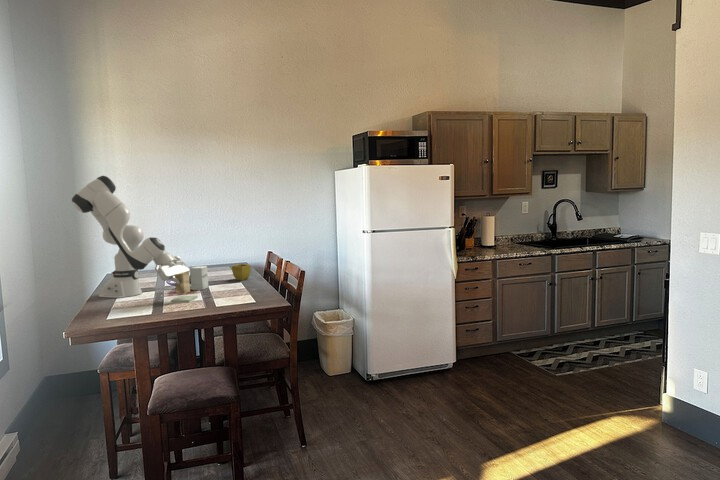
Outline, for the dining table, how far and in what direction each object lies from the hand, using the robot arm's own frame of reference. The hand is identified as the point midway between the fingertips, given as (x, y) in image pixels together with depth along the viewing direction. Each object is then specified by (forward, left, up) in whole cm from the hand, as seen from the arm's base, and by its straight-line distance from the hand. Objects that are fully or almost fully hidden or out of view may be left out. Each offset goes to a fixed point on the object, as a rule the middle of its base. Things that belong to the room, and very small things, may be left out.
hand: (183, 282), depth 282 cm
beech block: (-1, 0, -5) cm, 5 cm away
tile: (0, +1, -10) cm, 10 cm away
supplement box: (-4, +29, -10) cm, 31 cm away
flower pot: (+12, +55, -10) cm, 57 cm away
